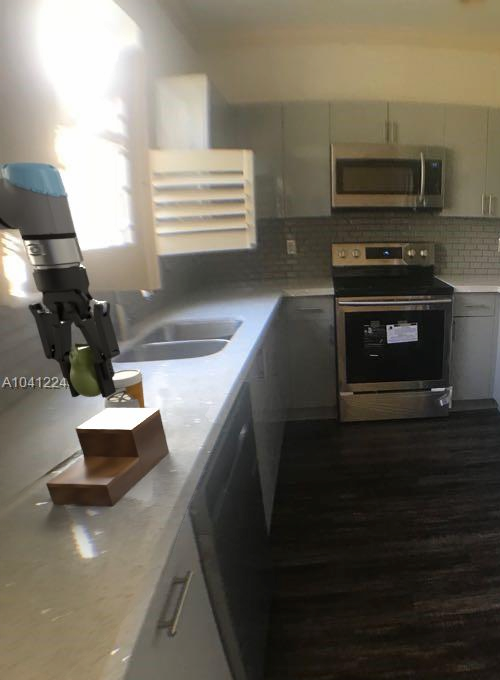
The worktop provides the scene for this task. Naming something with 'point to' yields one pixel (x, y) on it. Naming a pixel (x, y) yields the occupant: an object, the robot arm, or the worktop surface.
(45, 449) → the worktop surface
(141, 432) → the wooden step stand
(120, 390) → the food container
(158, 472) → the worktop surface
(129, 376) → the disposable coffee cup
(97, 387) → the pear
